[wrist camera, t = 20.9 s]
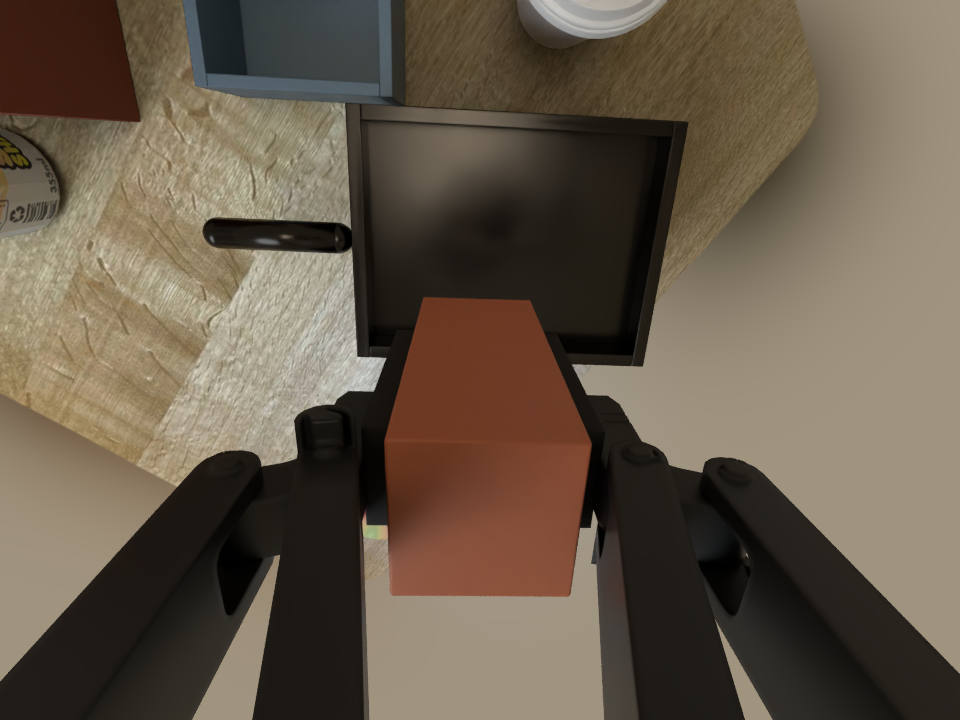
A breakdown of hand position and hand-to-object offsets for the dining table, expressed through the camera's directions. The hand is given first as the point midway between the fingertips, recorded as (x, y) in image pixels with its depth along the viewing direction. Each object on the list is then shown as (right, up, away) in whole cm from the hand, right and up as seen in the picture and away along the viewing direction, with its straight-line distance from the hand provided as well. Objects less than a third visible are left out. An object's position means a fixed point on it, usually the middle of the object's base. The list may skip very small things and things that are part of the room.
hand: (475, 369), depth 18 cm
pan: (-3, +13, +26) cm, 29 cm away
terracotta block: (0, +1, +2) cm, 2 cm away
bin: (-12, +26, +20) cm, 35 cm away
